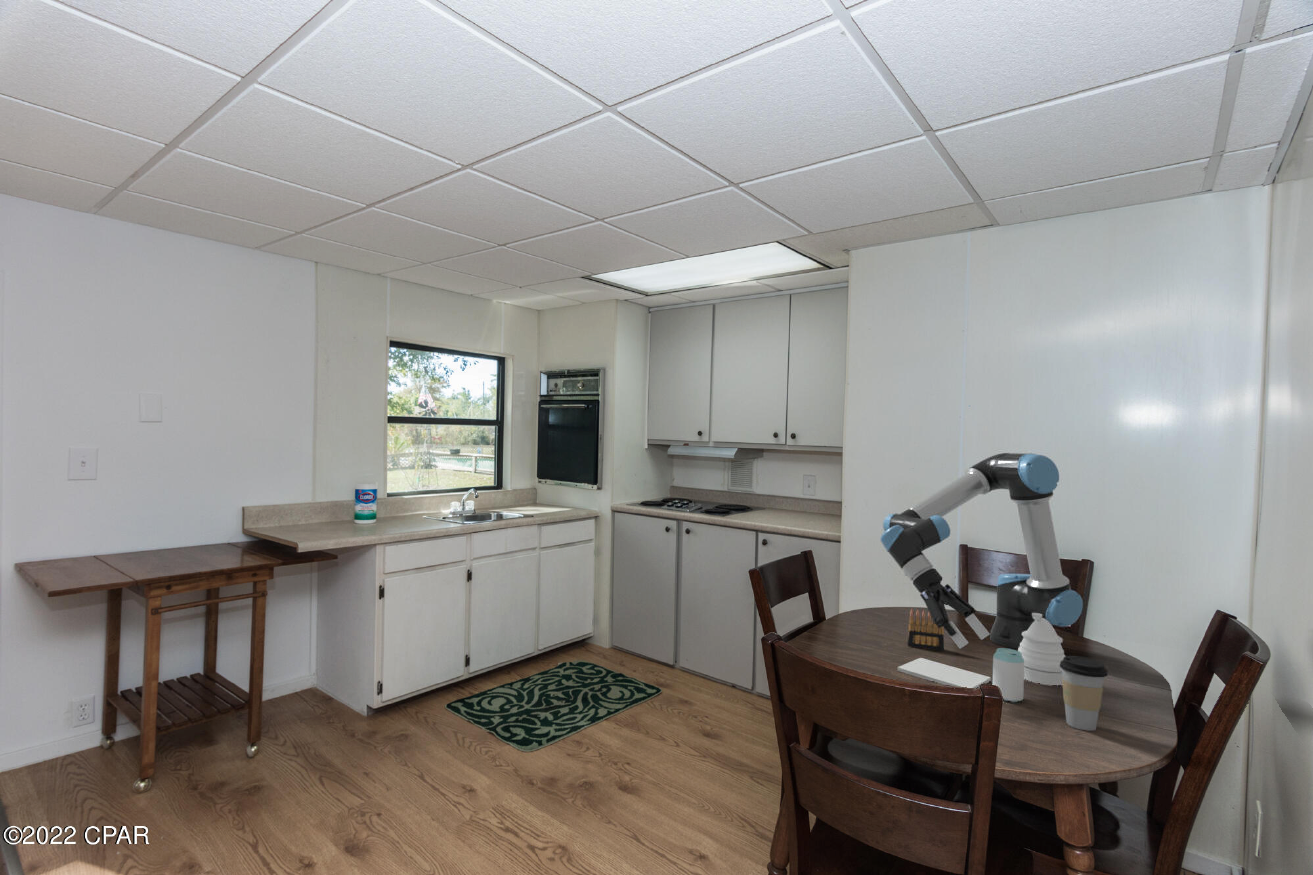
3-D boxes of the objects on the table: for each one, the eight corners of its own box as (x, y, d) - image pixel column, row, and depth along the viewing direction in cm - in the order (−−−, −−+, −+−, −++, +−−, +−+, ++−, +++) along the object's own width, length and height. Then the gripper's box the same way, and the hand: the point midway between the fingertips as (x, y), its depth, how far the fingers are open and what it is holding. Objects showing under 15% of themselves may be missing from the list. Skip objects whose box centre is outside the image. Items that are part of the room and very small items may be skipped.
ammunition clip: (943, 649, 205) (944, 611, 205) (944, 650, 203) (945, 612, 203) (907, 644, 208) (908, 607, 208) (907, 646, 206) (909, 609, 206)
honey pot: (1041, 687, 174) (1043, 620, 174) (1004, 670, 186) (1006, 608, 187) (1078, 684, 177) (1080, 619, 178) (1039, 667, 190) (1041, 607, 190)
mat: (897, 670, 183) (897, 667, 183) (920, 660, 192) (920, 657, 192) (969, 692, 168) (969, 689, 168) (990, 681, 177) (990, 677, 177)
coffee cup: (1048, 716, 154) (1050, 654, 154) (1085, 716, 155) (1087, 654, 155) (1077, 734, 145) (1079, 668, 145) (1116, 734, 146) (1118, 668, 146)
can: (1023, 696, 167) (1024, 650, 167) (1022, 705, 161) (1024, 657, 161) (992, 690, 170) (994, 645, 170) (991, 699, 164) (992, 652, 164)
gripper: (933, 577, 193) (983, 640, 181) (891, 587, 176) (943, 657, 165) (952, 562, 189) (1004, 626, 177) (910, 571, 172) (965, 642, 161)
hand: (975, 641), depth 171 cm, fingers open, 13 cm apart
